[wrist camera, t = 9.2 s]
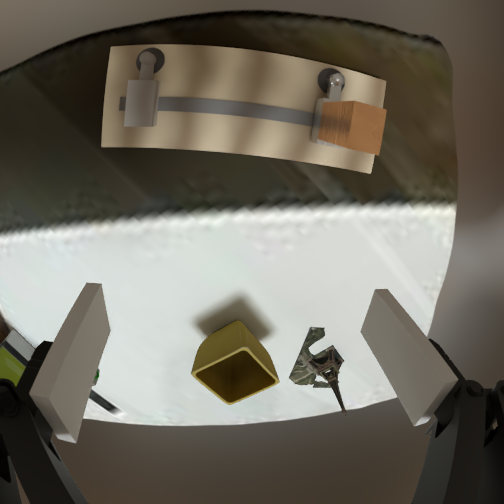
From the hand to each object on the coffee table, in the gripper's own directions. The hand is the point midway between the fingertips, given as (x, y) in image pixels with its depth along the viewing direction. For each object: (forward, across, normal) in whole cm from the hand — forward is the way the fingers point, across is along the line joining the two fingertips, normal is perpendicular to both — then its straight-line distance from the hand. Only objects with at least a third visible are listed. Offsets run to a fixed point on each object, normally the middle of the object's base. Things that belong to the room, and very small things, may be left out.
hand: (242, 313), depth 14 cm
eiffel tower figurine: (+25, +19, -29) cm, 42 cm away
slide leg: (+22, +11, +10) cm, 27 cm away
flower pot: (+25, +3, -23) cm, 34 cm away
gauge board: (+25, +2, +10) cm, 27 cm away
